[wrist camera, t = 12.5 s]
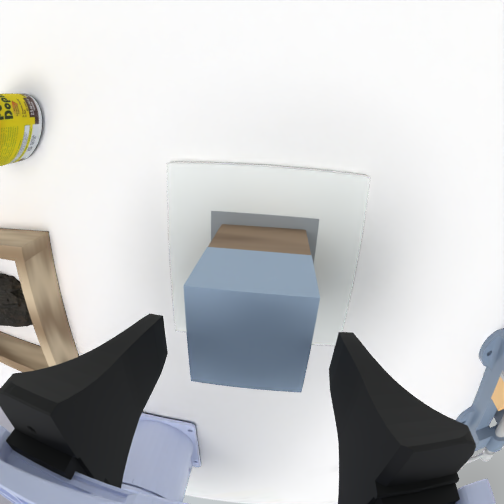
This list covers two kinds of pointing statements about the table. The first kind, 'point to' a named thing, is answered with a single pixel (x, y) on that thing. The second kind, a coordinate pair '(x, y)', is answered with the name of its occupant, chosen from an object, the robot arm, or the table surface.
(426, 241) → the table surface
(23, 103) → the supplement bottle
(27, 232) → the plank frame
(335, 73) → the table surface
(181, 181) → the board
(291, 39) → the table surface
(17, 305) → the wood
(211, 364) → the blue block
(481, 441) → the vise
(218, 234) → the walnut block
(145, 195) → the table surface
